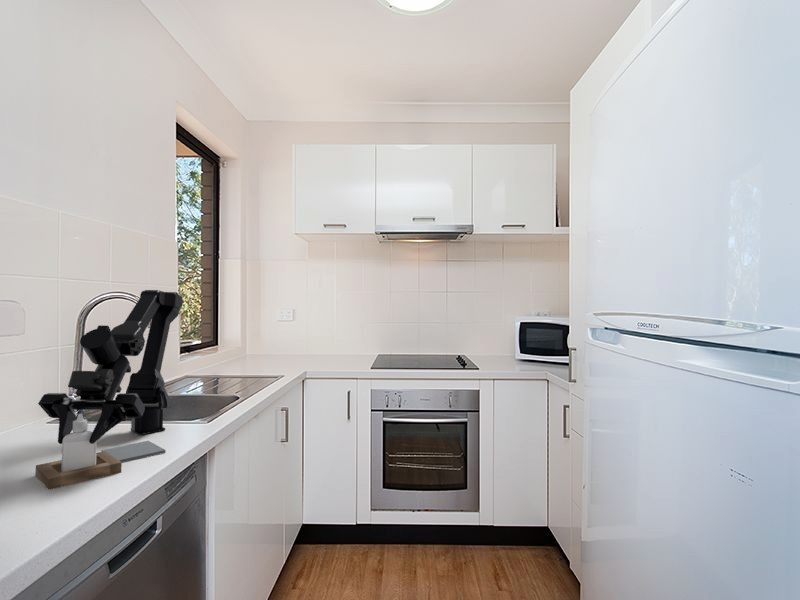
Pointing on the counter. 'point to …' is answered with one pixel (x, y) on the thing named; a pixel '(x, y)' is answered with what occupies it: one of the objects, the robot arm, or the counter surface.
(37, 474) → the wooden tray
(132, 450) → the mat
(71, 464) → the eye dropper bottle
